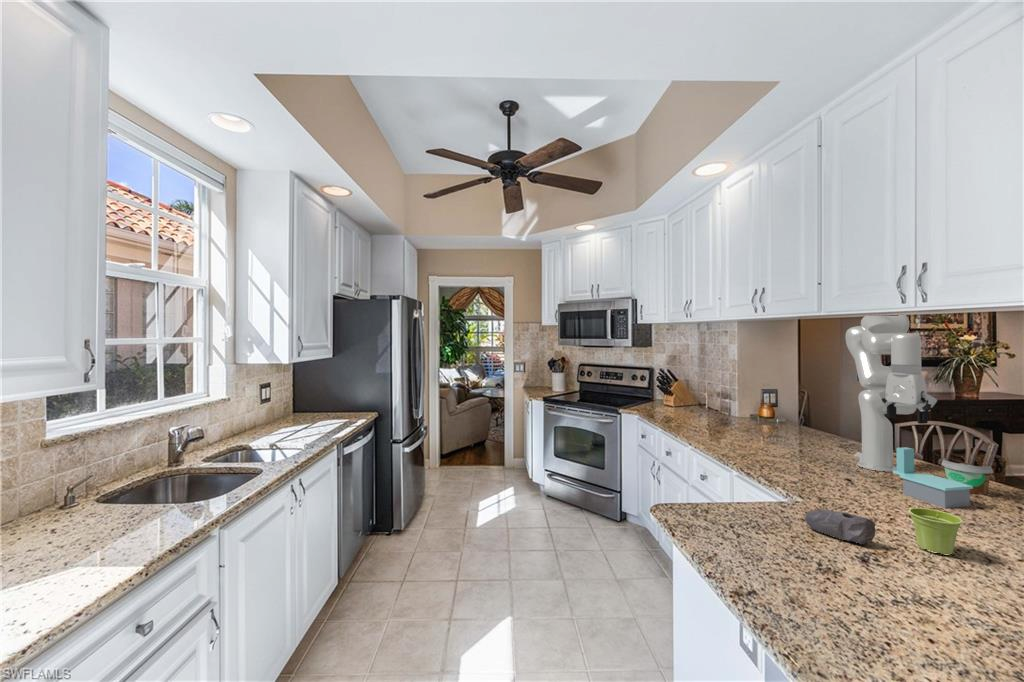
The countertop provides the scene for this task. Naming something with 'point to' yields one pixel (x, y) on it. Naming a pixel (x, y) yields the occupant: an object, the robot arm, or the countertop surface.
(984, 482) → the food container
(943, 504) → the tub
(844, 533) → the perforated stone tool
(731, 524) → the countertop surface
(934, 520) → the plant pot
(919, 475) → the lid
